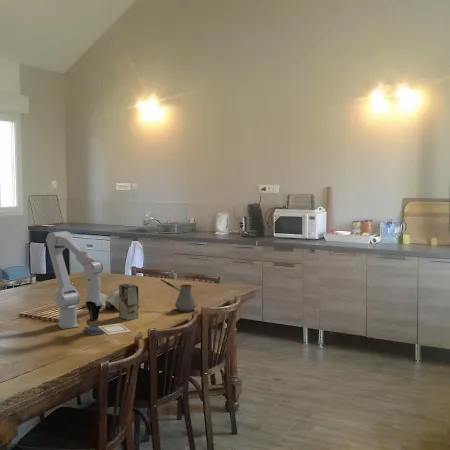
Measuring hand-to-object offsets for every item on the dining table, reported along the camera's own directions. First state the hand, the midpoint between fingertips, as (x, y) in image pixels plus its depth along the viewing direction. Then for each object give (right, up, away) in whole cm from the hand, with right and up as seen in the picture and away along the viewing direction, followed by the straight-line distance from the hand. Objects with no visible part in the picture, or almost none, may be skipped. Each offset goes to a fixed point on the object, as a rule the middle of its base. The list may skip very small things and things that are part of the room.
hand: (93, 318), depth 247 cm
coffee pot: (+33, -3, +45) cm, 56 cm away
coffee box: (+11, -4, +26) cm, 29 cm away
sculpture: (-2, -2, +49) cm, 49 cm away
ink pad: (0, -6, +1) cm, 6 cm away
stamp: (0, -3, 0) cm, 3 cm away
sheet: (+8, -6, +5) cm, 11 cm away
